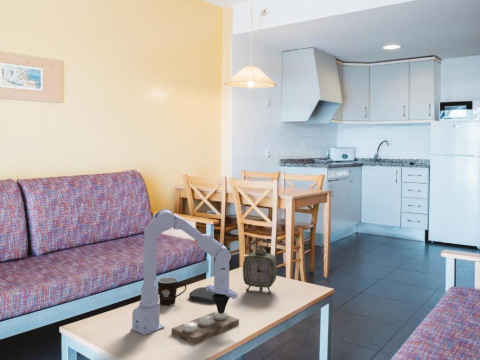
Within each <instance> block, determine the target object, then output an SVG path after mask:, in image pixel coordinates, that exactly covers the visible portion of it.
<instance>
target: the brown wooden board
mask: <svg viewBox="0 0 480 360" xmlns="http://www.w3.org/2000/svg"><path fill="white" fill-rule="evenodd" d="M216 311H217V310H216ZM216 311H213V312H210V313H208V314H205V315H204V316H210V317H212V318H213V324H212V325H211V326H207V327H205V326H201V325H200V317H199V318H198V317H197V318H195V319H193V320H190V321H189V322H194V323H196V324H197V331H196V332H194V333H186V332H184V331H183V328H184V324H185V323H182V324H180V325H178V326H174V327H171V335H173V336H175V337H177V338H180V339H182V340H184V341H186V342H189V343H191V344H194V345H197V343H200V342H203V341H205V340H207V339H210V338H212V337H213V336H214V337H215V336H216V335H219V334H220V333H222V332H225V331H227V330H229V329H232V328H234V327H236V326H238V325H240V319H239V318H236V317H235V316H234V317H233V316H232V315H228V314H227V319H225V320H222V321H221V320H217V319H215V312H216Z"/></svg>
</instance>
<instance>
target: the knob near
mask: <svg viewBox="0 0 480 360" xmlns="http://www.w3.org/2000/svg"><path fill="white" fill-rule="evenodd" d="M183 324H184V328H183V331H184V332H186V333H194V332H196V331H197V324H196V323H194V322H190V321H188V322H185V323H183Z"/></svg>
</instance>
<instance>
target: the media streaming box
mask: <svg viewBox="0 0 480 360" xmlns="http://www.w3.org/2000/svg"><path fill="white" fill-rule="evenodd" d="M214 294H215V292H212V291H206V286H204V287H203V286H202V287H198V288H195V289H193V290H191V291H190V292H189V294H188V297H189V298H188V299H189V300H190V301H193V302H198V303H203V304H207V305H208V304H209V305H211V304H213V305H216V303H215V301H214V299H213V297H212V295H214Z"/></svg>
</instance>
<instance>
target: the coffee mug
mask: <svg viewBox="0 0 480 360" xmlns="http://www.w3.org/2000/svg"><path fill="white" fill-rule="evenodd" d="M156 282H157V288H158V296H159V303H160V304H159V305H160V306H173V305H175V304H176V299H177V298H178V297H179V296H181V295H182V294H184V293H185V292H186V290H187V285H186V284H185V283H183V282H181V283H178V282H179V279H178V278H177V277H174V276H173V277H171V276H165V277H160V278H158V279H156ZM180 285H183V286H184V290H183V291H182V292H180V293H178V294H177V289H178V288H179V287H180Z"/></svg>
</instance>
